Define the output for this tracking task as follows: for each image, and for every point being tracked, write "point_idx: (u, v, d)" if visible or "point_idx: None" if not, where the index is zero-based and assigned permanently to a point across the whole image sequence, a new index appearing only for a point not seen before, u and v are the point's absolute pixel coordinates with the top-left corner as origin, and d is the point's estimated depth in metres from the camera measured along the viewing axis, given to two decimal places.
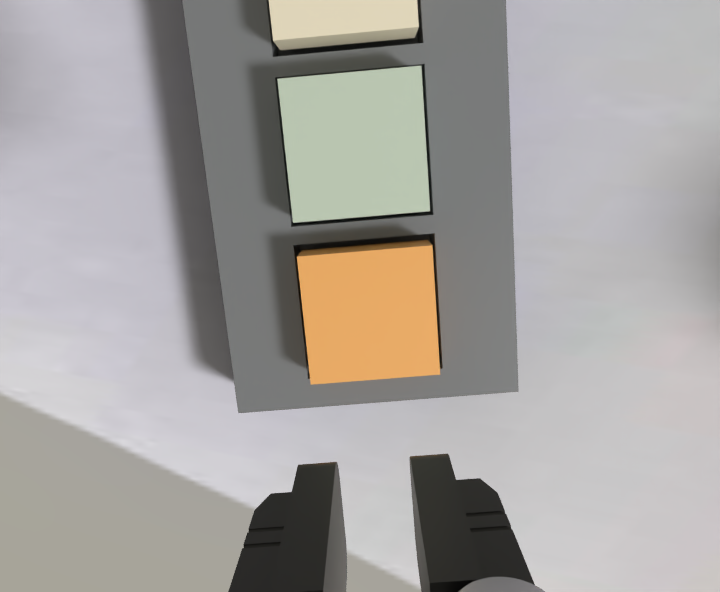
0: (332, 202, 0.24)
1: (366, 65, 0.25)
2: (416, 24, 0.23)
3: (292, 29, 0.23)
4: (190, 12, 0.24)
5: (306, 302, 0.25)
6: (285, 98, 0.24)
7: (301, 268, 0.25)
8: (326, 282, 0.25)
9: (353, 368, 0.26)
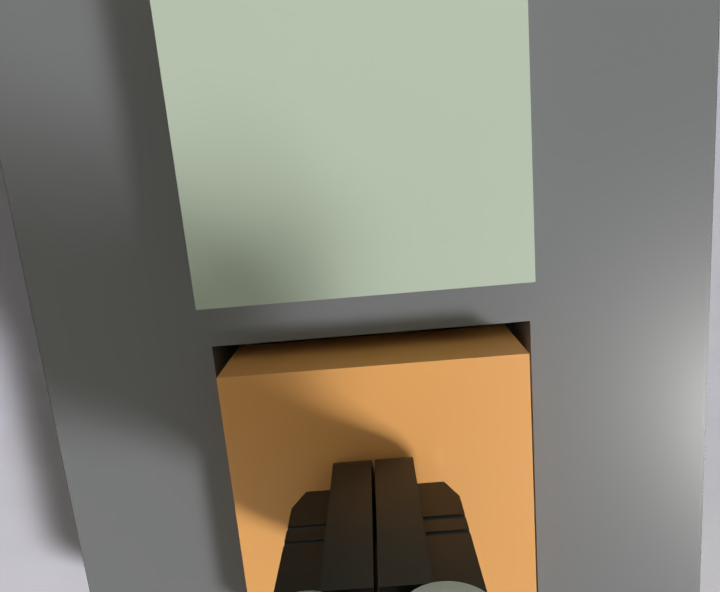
0: (292, 260, 0.10)
1: None
2: None
3: None
4: None
5: (241, 477, 0.11)
6: None
7: (227, 404, 0.11)
8: (284, 434, 0.11)
9: None
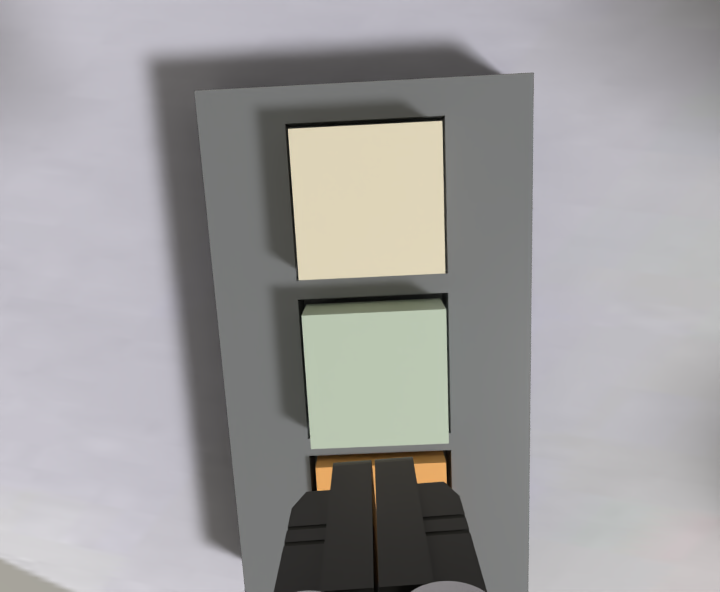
0: (351, 431, 0.24)
1: (389, 292, 0.25)
2: (443, 271, 0.23)
3: (319, 270, 0.23)
4: (216, 235, 0.24)
5: None
6: (308, 334, 0.23)
7: (319, 478, 0.26)
8: None
9: None
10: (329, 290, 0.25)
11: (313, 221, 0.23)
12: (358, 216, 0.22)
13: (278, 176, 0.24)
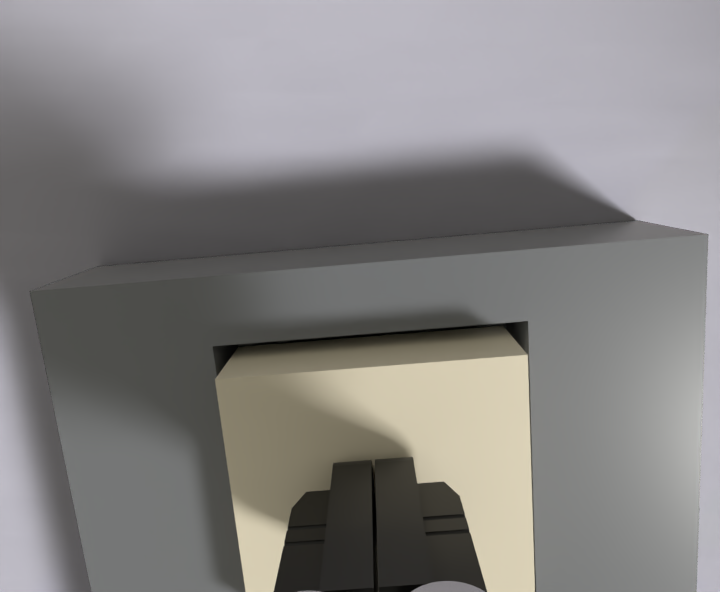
0: None
1: None
2: None
3: None
4: (95, 546, 0.13)
5: None
6: None
7: None
8: None
9: None
10: None
11: (275, 544, 0.12)
12: None
13: (205, 441, 0.12)
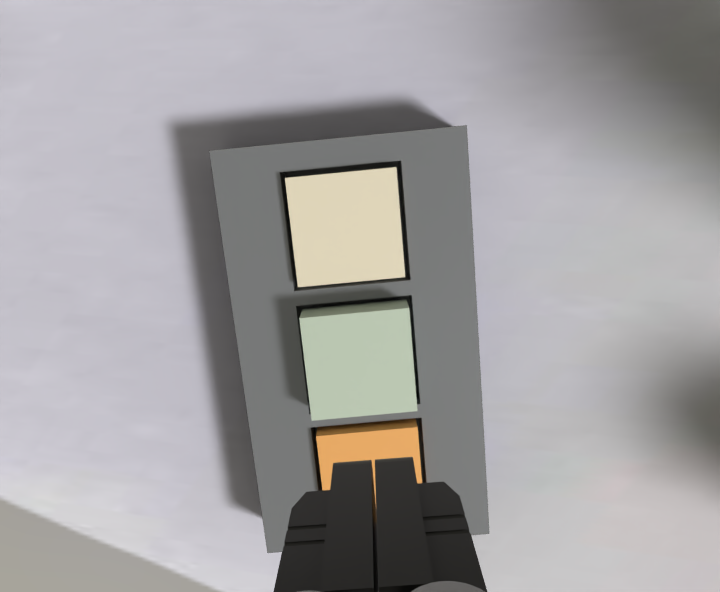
0: (342, 405, 0.32)
1: (366, 296, 0.32)
2: (403, 275, 0.31)
3: (312, 279, 0.31)
4: (230, 259, 0.31)
5: (323, 468, 0.33)
6: (305, 332, 0.31)
7: (319, 444, 0.33)
8: (338, 453, 0.33)
9: None
10: (320, 297, 0.32)
11: (306, 243, 0.31)
12: (339, 238, 0.31)
13: (276, 212, 0.31)
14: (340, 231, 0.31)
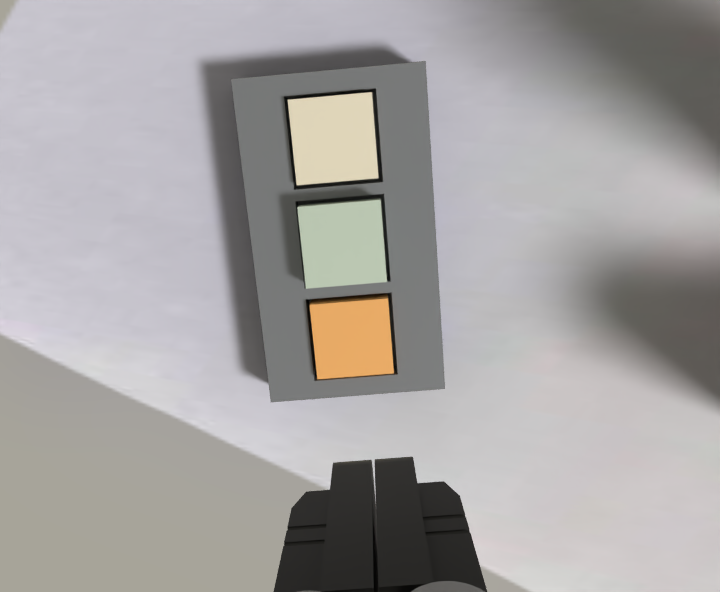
0: (329, 276, 0.41)
1: (349, 194, 0.42)
2: (377, 177, 0.41)
3: (307, 179, 0.41)
4: (245, 164, 0.41)
5: (315, 331, 0.43)
6: (301, 217, 0.40)
7: (312, 311, 0.43)
8: (326, 319, 0.43)
9: (342, 369, 0.44)
10: (313, 195, 0.42)
11: (303, 151, 0.41)
12: (328, 147, 0.40)
13: (281, 127, 0.41)
14: (329, 141, 0.40)
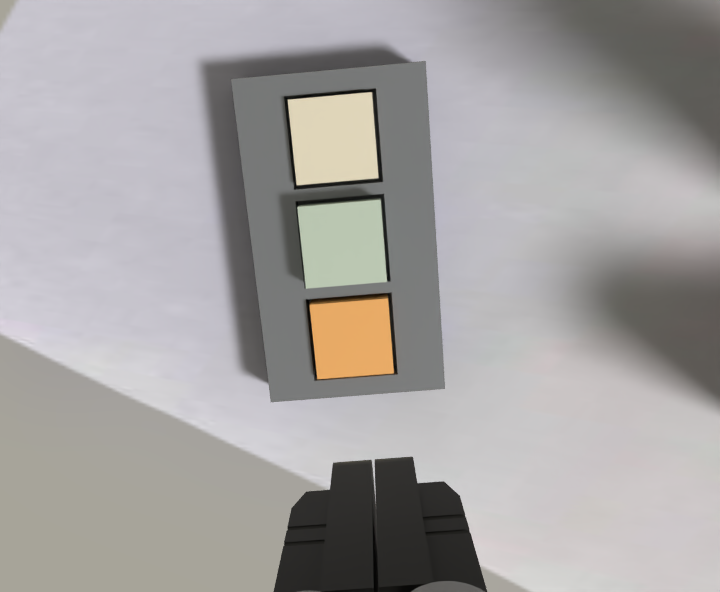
0: (329, 276, 0.41)
1: (349, 194, 0.42)
2: (377, 176, 0.41)
3: (307, 179, 0.41)
4: (245, 164, 0.41)
5: (315, 331, 0.43)
6: (301, 217, 0.40)
7: (312, 311, 0.43)
8: (326, 319, 0.43)
9: (342, 369, 0.44)
10: (313, 195, 0.42)
11: (303, 151, 0.41)
12: (328, 147, 0.40)
13: (281, 127, 0.41)
14: (329, 141, 0.40)
